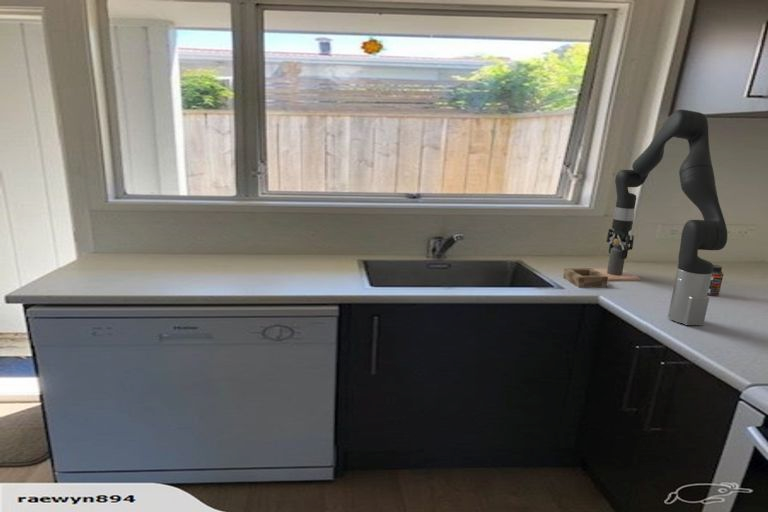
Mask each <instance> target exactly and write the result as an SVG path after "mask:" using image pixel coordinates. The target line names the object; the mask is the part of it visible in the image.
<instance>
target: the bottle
mask: <svg viewBox="0 0 768 512" xmlns="http://www.w3.org/2000/svg"><path fill="white" fill-rule="evenodd" d="M623 243H626V241H625V242H623ZM613 246H614V247H613V248H611V251H610V253H609V259H608V263H607V268H606V269H607V273H608V274H611V275H622V272H623V270H624V266H625V260H626V259H621V252H622V247H621V245H620V243H619V240H618V239H614V243H613ZM624 247H625V245H624Z"/></svg>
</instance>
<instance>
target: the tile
mask: <svg viewBox="0 0 768 512" xmlns="http://www.w3.org/2000/svg"><path fill="white" fill-rule="evenodd" d="M593 269H594V270H596V271H598V272H600V273H601V274H603V275H605V276H607V277H608V281H607V282H619V281H620V282H622V281H624V282H625V281H627V282H628V281H630V282H631V281H637V282H638V281H640V280H641V278H640V277H638V276H637V275H634V274H632V273H630V272H628V271H626V270H624V269H623V272H622V275H611V274H608V273H607V269H608V268H593Z"/></svg>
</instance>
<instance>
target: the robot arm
mask: <svg viewBox="0 0 768 512" xmlns="http://www.w3.org/2000/svg"><path fill="white" fill-rule="evenodd" d="M672 138H677V139H681V140H682V139H684V140H686V141H687V143H688V147H689V149H688V150H689V153H688V154H687V156H686V158H685V159H684V160H683V162H682V163H681V165H680V167H679V170H678V173H679V181H680V186H681V190H682V192H683V193H684V195H685V196H686V197H687V198H688V199H689V200H690V201H691V202H692V203H693V205H695V207H697V209H698V210H699V211H700V213H701V215H702V218H703V219H690V220H687V221H686V223H685V224H684V225H683V228H682V232H681V237H680V244H679V245H680V246H679V251H678V264H677V269H676V274H675V279H674V283H673V284H674V285H673V289H672V294H671V297H670V298H671V299H670V302H669V303H670V304H669V308H668V309H669V310H668V313H667V318H668V317H669V318H670V319H671V320H670V319H669V318H668V319H669V320H670V321H672V320H674V321H676V322H675V323H677V322H680V323H684V324H686V325H700V326H704V323H705V320H706V319H705V318H706V314H707V310H708V305H709V301H710V297H709V296H708V295H707V294H708V289H709V285H710V280H711V276H712V272H713V265H714V263H712V262H711V261H709V260H706V259H704V258H701V257H700V256H698V254H699V252H698V251H701V250H702V251H720V250H722V249H723V248H725V247H726V246H727V242H728V228H727V224H726V220H725V218H724V214H723V212H722V208H721V205H720V201H719V197H718V192H717V185H716V178H715V172H714V168H713V163H712V157H711V152H710V142H709V141H710V140H709V122H708V118H707V116H706V114H704V113H702V112H699V111H694V110H689V109H688V110H687V109H677V110H675V111H673V112H672V113H671V114H670V115H669V116H668V118H666V120H665V121H664V123H663V125H662V126H661V127H660V129H659V130H658V132H657V133H656V134H655V136H654V137H653V139H652V141H651V142H650V143H649V145H648V146H647V147H646V148H645V150H643V152H642V153H641V154H640V155H639V156H638V157H637V158H636V159H635V160H634V161H633V163H632V164H631V165H632V166H631V167H632V168H631V169H620V170H619V171H618V172H617V174H616V175H615V180H614V181H615V183H614V184H615V191H616V204H615V208H614V212H613V217H612V222H611V223H612V224H611V228H609V229H608V231H607V235H606V237H607V238H606V243H608V245H609V246H608V247H609V248H608V253H609V254H610V251H611V248H613V247H614V246H613V243H614V239H618V240H619V243H620V245H621V247H622V252H621V259H625V260H626V259H628V258H627V257H628V253H629V251H630V250H633V248H634V247H633V246H634V240H635V235H633V234H632V235H630V233H629V232H630V231H632V230H633V225H634V218H635V208H636V203H637V195H636V194H634V193H632V192H629V188H638V187H641V186H642V185H643V184H644V183H645V182H646V180H647V178H648V176H649V174H650V172H651V171H653V169H655V168H656V167H657V166H658V165H659V164H660V162H661V161H662V160H663V158H664V155H665V147H666V144H667V142H668V141H669V140H671V139H672ZM625 241H626V243H623V242H625ZM624 245H625V247H624ZM674 321H673V322H674ZM680 323H679V324H680Z"/></svg>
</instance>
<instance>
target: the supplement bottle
mask: <svg viewBox="0 0 768 512" xmlns="http://www.w3.org/2000/svg"><path fill="white" fill-rule="evenodd" d="M722 268H723V267H722V266H721V265H717V264H713V272H712V276H711V280H710V285H709V289H708V294H707V296H708V297H709V296H710V297H716V296H719V295H720V291H721V288H722V287H721V285H722V282H723V279H724V273H723V271H722Z"/></svg>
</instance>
